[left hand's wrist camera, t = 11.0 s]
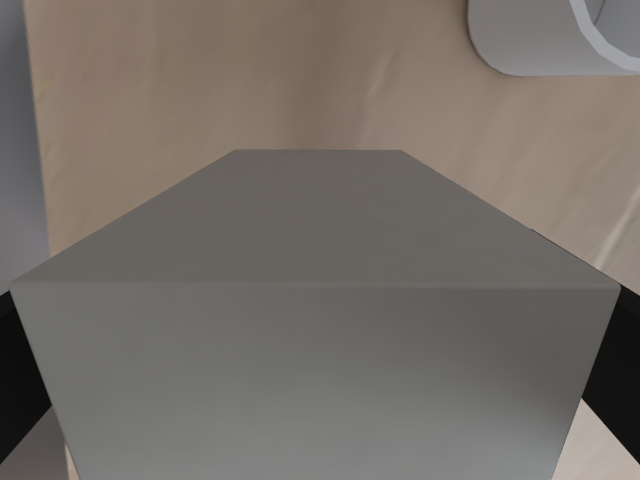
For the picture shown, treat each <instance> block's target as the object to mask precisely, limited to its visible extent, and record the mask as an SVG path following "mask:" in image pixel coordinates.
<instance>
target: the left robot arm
mask: <svg viewBox="0 0 640 480" xmlns="http://www.w3.org/2000/svg"><path fill="white" fill-rule="evenodd" d="M531 230H532V229H531ZM533 231H534V230H533ZM534 232H536V231H534ZM536 233H537V232H536ZM537 234H539V233H537ZM539 235H540V234H539ZM541 236H542V235H541ZM542 237H544V236H542ZM544 238H545V237H544ZM546 239H547V238H546ZM547 240H548V239H547ZM549 241H550V240H549ZM551 242H552V241H551ZM552 243H553V242H552ZM554 244H555V243H554ZM555 245H557V244H555ZM557 246H558V245H557ZM559 247H560V246H559ZM560 248H561V247H560ZM562 249H563V248H562ZM564 250H565V249H564ZM565 251H566V250H565ZM567 252H568V251H567ZM569 253H570V252H569ZM570 254H571V253H570ZM572 255H573V254H572ZM573 256H574V255H573ZM575 257H576V256H575ZM577 258H578V257H577ZM578 259H579V258H578ZM580 260H581V259H580ZM583 262H584V261H583ZM585 263H586V262H585ZM586 264H587V263H586ZM588 265H589V264H588ZM590 266H591V265H590ZM591 267H592V266H591ZM593 268H594V267H593ZM596 270H597V269H596ZM598 271H599V270H598ZM601 273H602V272H601ZM603 274H604V273H603ZM604 275H605V274H604ZM606 276H607V275H606ZM609 278H610V277H609ZM611 279H612V278H611ZM614 281H615V280H614ZM616 282H617V281H616ZM619 284H620V283H619ZM620 286H621V291H620V293H619V296H618V299H617V301H616V304H615V307H614V310H613V312H612V315H611V318H610V321H609V323H608V326H607V329H606V331H605V334H604V337H603V340H602V342H601V345H600V348H599V350H598V353H597V356H596V359H595V361H594V364H593V367H592V370H591V372H590V375H589V378H588V380H587V383H586V386H585V389H584V391H583V394H582V397H581V398H582V399H583V400H584V401H585V402H586V404H587V405H588V406H589V407H590V408H591V409H592V410H593V412H594V413H595V414H596V415H597V416H598V417H599V418H600V420H601V421H602V422H603V423H604V424H605V425H606V426H607V428H608V429H609V430H610V431H611V432H612V433H613V435H614V436H615V437H616V438H617V439H618V440H619V441H620V443H621V444H622V445H623V446H624V447H625V448H626V449H627V451H628V452H629V453H630V454H631V455H632V456H633V457H634V459H635V460H636V461H637V462H638V463H639V464H640V296H639V295H638V294H636V293H634V292H633V291H631V290H629V289H628V288H626V287H625V286H623V285H621V284H620ZM51 406H52V403H51V401H50V398H49V395H48V393H47V390H46V387H45V385H44V382H43V379H42V376H41V374H40V371H39V368H38V366H37V363H36V360H35V358H34V355H33V352H32V350H31V347H30V344H29V341H28V339H27V336H26V333H25V331H24V328H23V325H22V323H21V320H20V317H19V314H18V312H17V309H16V306H15V304H14V301H13V298H12V296H11V293H10V290H9V291H7V292H6V293H4V294H3V295H1V296H0V464H1V463H2V462H3V461H4V460H5V459H6V457H7V456H8V455H9V454H10V453H11V452H12V451H13V449H14V448H15V447H16V446H17V445H18V444H19V443H20V441H21V440H22V439H23V438H24V437H25V436H26V435H27V433H28V432H29V431H30V430H31V429H32V428H33V427H34V425H35V424H36V423H37V422H38V421H39V420H40V418H41V417H42V416H43V415H44V414H45V413H46V412H47V410H48V409H49V408H50V407H51Z"/></svg>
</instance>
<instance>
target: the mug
mask: <svg viewBox="0 0 640 480" xmlns="http://www.w3.org/2000/svg"><path fill="white" fill-rule="evenodd" d="M467 24H468V29H469V35H470V39H471V41H472V43H473V45H474V48H475V50H476V52H477V54H478V55H479V56H480V57H481V58H482V59H483V60H484V62H485V63H486V64H487V65H488V66H490V67H491V68H493V69H495V70H497V71H498V72H500V73H502V74H507V75H512V76H517V77H518V76H584V75H640V0H468V8H467Z"/></svg>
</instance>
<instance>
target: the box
mask: <svg viewBox="0 0 640 480" xmlns="http://www.w3.org/2000/svg"><path fill="white" fill-rule="evenodd" d="M9 290H10V293H11V296H12V298H13V301H14V304H15V306H16V309H17V312H18V314H19V317H20V320H21V323H22V325H23V328H24V331H25V333H26V336H27V339H28V341H29V344H30V347H31V350H32V352H33V355H34V358H35V360H36V363H37V366H38V368H39V371H40V374H41V376H42V379H43V382H44V385H45V387H46V390H47V393H48V395H49V398H50V401H51V403H52V406H53V409H54V412H55V414H56V417H57V420H58V422H59V425H60V428H61V430H62V433H63V436H64V438H65V441H66V444H67V447H68V449H69V452H70V455H71V457H72V460H73V463H74V466H75V468H76V471H77V474H78V476H79V479H80V480H551V479H552V476H553V473H554V470H555V468H556V465H557V462H558V459H559V457H560V454H561V451H562V449H563V446H564V443H565V440H566V438H567V435H568V432H569V430H570V427H571V424H572V421H573V419H574V416H575V413H576V410H577V408H578V405H579V402H580V400H581V397H582V394H583V391H584V389H585V386H586V383H587V380H588V378H589V375H590V372H591V370H592V367H593V364H594V361H595V359H596V356H597V353H598V350H599V348H600V345H601V342H602V340H603V337H604V334H605V331H606V329H607V326H608V323H609V321H610V318H611V315H612V312H613V310H614V307H615V304H616V301H617V299H618V296H619V293H620V291H621V286H620V284H619V283H618V282H616V281H614V280H613V279H611V278H609V277H608V276H606V275H604V274H603V273H601V272H600V271H598V270H596V269H595V268H593V267H591V266H590V265H588V264H586V263H585V262H583V261H582V260H580V259H578V258H577V257H575V256H573V255H572V254H570V253H569V252H567V251H565V250H564V249H562V248H560V247H559V246H557V245H555V244H554V243H552V242H551V241H549V240H547V239H546V238H544V237H542V236H541V235H539V234H537V233H536V232H534V231H533V230H531V229H529V228H528V227H526V226H524V225H523V224H521V223H520V222H518V221H516V220H515V219H513V218H511V217H510V216H508V215H506V214H505V213H503V212H502V211H500V210H498V209H497V208H495V207H493V206H492V205H490V204H489V203H487V202H485V201H484V200H482V199H480V198H479V197H477V196H475V195H474V194H472V193H471V192H469V191H467V190H466V189H464V188H462V187H461V186H459V185H457V184H456V183H454V182H453V181H451V180H449V179H448V178H446V177H444V176H443V175H441V174H440V173H438V172H436V171H435V170H433V169H431V168H430V167H428V166H426V165H425V164H423V163H422V162H420V161H418V160H417V159H415V158H413V157H412V156H410V155H408V154H407V153H405V152H404V151H402V150H233V151H232V152H230V153H228V154H227V155H225V156H223V157H222V158H220V159H218V160H217V161H215V162H213V163H211V164H210V165H208V166H206V167H205V168H203V169H201V170H200V171H198V172H196V173H195V174H193V175H191V176H189V177H188V178H186V179H184V180H183V181H181V182H179V183H178V184H176V185H174V186H173V187H171V188H169V189H167V190H166V191H164V192H162V193H161V194H159V195H157V196H156V197H154V198H152V199H151V200H149V201H147V202H145V203H144V204H142V205H140V206H139V207H137V208H135V209H134V210H132V211H130V212H129V213H127V214H125V215H123V216H122V217H120V218H118V219H117V220H115V221H113V222H112V223H110V224H108V225H107V226H105V227H103V228H101V229H100V230H98V231H96V232H95V233H93V234H91V235H90V236H88V237H86V238H84V239H83V240H81V241H79V242H78V243H76V244H74V245H73V246H71V247H69V248H68V249H66V250H64V251H62V252H61V253H59V254H57V255H56V256H54V257H52V258H51V259H49V260H47V261H46V262H44V263H42V264H40V265H39V266H37V267H35V268H34V269H32V270H30V271H29V272H27V273H25V274H24V275H22V276H20V277H19V278H17V279H15V280H13V281H12V282H11V283H10V284H9Z"/></svg>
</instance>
